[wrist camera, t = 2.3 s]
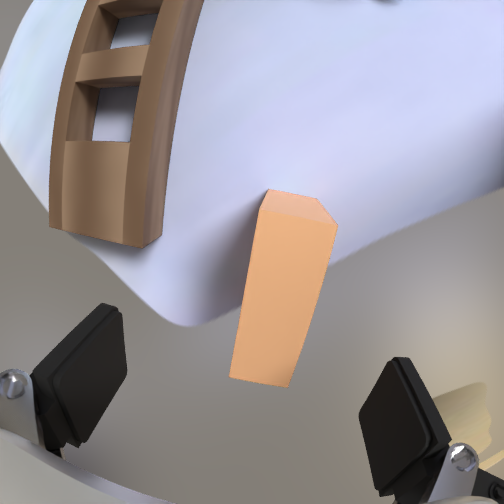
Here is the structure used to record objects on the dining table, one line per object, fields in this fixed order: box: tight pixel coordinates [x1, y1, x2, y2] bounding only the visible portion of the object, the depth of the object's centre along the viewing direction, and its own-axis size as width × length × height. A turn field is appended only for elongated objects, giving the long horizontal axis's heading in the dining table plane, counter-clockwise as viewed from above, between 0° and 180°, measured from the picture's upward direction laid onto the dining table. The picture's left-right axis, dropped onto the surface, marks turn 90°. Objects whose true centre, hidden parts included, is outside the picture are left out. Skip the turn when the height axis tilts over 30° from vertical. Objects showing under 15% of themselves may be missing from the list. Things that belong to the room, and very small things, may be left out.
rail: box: [49, 0, 204, 248], centre depth 14 cm, size 8×22×3 cm, turn 170°
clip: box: [229, 189, 338, 388], centre depth 15 cm, size 3×8×7 cm, turn 170°
